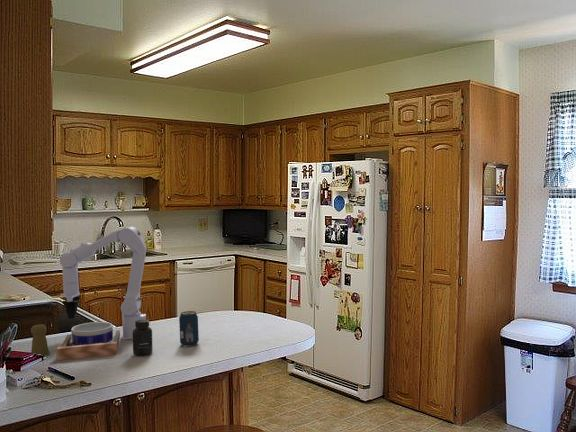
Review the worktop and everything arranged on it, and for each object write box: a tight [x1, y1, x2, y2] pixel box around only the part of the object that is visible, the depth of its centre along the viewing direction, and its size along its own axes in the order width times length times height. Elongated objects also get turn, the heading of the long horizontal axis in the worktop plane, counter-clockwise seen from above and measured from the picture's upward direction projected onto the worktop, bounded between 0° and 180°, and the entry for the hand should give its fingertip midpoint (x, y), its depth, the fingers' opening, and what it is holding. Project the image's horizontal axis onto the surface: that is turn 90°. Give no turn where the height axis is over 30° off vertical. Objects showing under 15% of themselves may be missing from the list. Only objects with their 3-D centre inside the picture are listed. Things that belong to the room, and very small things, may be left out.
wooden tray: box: [56, 329, 121, 361], centre depth 208 cm, size 20×28×4 cm
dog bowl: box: [70, 321, 114, 346], centre depth 216 cm, size 15×15×6 cm
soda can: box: [178, 310, 200, 347], centre depth 208 cm, size 7×7×12 cm
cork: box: [30, 323, 50, 356], centre depth 199 cm, size 6×6×11 cm
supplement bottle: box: [132, 319, 154, 357], centre depth 196 cm, size 7×7×12 cm
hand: (72, 316), depth 219 cm, fingers open, 7 cm apart
